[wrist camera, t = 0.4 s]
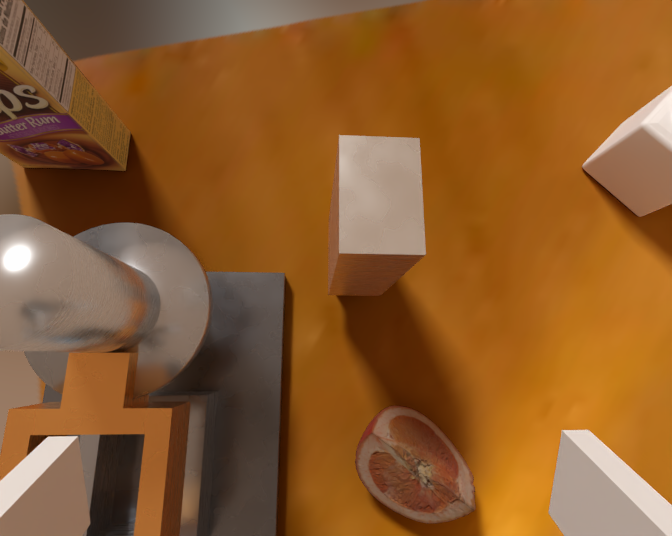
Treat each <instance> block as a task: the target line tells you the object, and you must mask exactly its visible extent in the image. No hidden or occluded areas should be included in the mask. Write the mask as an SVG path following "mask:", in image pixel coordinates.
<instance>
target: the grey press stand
mask: <svg viewBox="0 0 672 536" xmlns="http://www.w3.org/2000/svg"><path fill="white" fill-rule="evenodd" d="M285 283H286V276H285V273H251V272H205V269H204V268H203V266H202V265H201V263H200V261H199V260H198V259H197V257H196V256H195V255H194V254H193V253H192V252H191V251H190V250H189V249H188V248H187V247H186V246H185V245H184V244H183V243H181V242H180V241H179V240H178V239H176V238H175V237H173V236H172V235H170V234H168V233H166V232H164V231H163V230H161V229H158V228H155V227H152V226H149V225H144V224H139V223H112V224H106V225H101V226H98V227H94V228H91V229H89V230H86V231H84V232H81V233H79V234H77V235H76V236H74V237H72V236H70V235H68V234H66V233H64V232H62V231H60V230H58V229H56V228H54V227H52V226H50V225H48V224H46V223H44V222H42V221H40V220H38V219H35V218H33V217H29V216H24V215H16V214H5V215H0V351H24V353H25V356H26V358H27V359H28V362H29V364H30V365H31V367H32V368H33V370H34V371H35V373H36V374H37V375H38V376H39V377H40V378H41V379H42V380H43V381H44V382H45V383H46V386H45V392H44V398H43V403H41V404H35V405H30V406H24V407H18V408H13V409H9V412H8V418H7V423H6V428H5V433H4V439H3V444H2V449H1V454H0V481H1V480H2V479H3V478H4V477H5V476H6V475H7V474H8V473H9V472H10V471H12V470H13V469H14V468H15V467H16V466H17V465H18V464H19V463H20V462H21V461H22V460H23V459H24V458H26V457H27V456H28V455H29V454H30V453H31V452H32V451H33V450H34V449H35V448H36V447H37V446H38V445H40V444H41V443H42V442H43V441H44V440H45V439H46V438H47V437H56V436H78V439H79V446H80V453H81V460H82V467H83V474H84V481H85V488H86V495H87V502H88V508H89V515H90V522H91V524H90V525H89V527H88V528H87V530H86V531H85V533H84V534H83V536H277V522H278V492H279V462H280V432H281V402H282V373H283V343H284V313H285Z"/></svg>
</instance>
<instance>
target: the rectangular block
mask: <svg viewBox="0 0 672 536" xmlns="http://www.w3.org/2000/svg"><path fill="white" fill-rule="evenodd" d="M425 255H426V249H425V230H424V212H423V193H422V174H421V156H420V138H401V137H373V136H346V135H339V141H338V149H337V157H336V166H335V174H334V182H333V191H332V199H331V207H330V216H329V276H328V295H356V296H381V295H382V294H383V293H384V292H385V291H386V290H387V289H389V288H390V287H391V286H392V285H393V284H394V283H395V282H396V281H397V280H399V279H400V278H401V277H402V276H403V275H404V274H405V273H406V272H407V271H409V270H410V269H411V268H412V267H413V266H414V265H415V264H416V263H417V262H419V261H420V260H421V259H422V258H423V257H424V256H425Z"/></svg>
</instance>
